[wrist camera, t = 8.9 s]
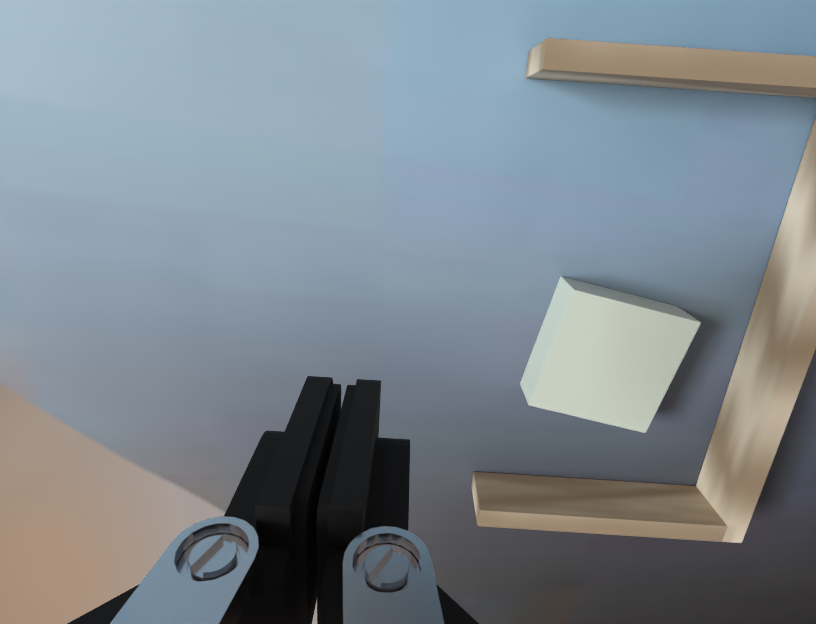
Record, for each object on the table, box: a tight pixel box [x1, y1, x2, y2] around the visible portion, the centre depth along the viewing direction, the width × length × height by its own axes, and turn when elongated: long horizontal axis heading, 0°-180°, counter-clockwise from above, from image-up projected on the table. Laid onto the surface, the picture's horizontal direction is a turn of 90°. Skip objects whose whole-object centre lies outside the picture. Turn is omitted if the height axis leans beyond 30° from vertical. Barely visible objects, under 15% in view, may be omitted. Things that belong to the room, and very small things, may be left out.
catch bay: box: [472, 38, 816, 543], centre depth 23 cm, size 22×14×3 cm, turn 176°
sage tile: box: [520, 276, 701, 433], centre depth 24 cm, size 6×6×2 cm
